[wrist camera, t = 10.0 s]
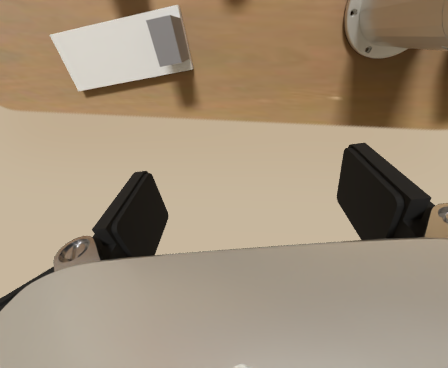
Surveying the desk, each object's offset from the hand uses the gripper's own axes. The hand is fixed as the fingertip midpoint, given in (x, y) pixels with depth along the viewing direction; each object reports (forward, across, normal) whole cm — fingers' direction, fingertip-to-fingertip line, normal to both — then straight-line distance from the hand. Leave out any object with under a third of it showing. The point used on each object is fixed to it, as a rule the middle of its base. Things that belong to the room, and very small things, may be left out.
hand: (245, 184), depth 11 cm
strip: (+30, +17, -7) cm, 35 cm away
